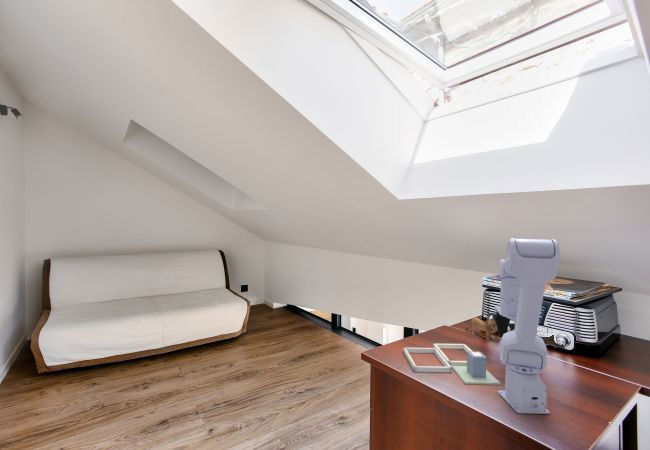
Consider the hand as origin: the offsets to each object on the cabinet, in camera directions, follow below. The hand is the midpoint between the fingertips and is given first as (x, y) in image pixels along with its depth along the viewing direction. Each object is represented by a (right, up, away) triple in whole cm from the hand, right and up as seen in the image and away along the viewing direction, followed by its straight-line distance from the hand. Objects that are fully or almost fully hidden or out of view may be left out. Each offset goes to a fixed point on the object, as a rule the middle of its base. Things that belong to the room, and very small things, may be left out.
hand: (509, 341), depth 99 cm
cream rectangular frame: (-12, -9, +10) cm, 18 cm away
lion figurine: (+7, -9, +29) cm, 31 cm away
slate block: (-12, -9, -3) cm, 15 cm away
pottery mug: (+28, -9, +22) cm, 36 cm away
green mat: (-12, -9, -3) cm, 16 cm away
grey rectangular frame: (-24, -9, +6) cm, 26 cm away
